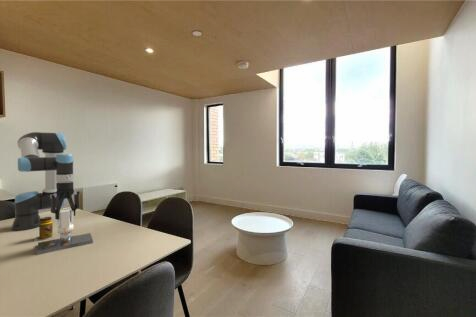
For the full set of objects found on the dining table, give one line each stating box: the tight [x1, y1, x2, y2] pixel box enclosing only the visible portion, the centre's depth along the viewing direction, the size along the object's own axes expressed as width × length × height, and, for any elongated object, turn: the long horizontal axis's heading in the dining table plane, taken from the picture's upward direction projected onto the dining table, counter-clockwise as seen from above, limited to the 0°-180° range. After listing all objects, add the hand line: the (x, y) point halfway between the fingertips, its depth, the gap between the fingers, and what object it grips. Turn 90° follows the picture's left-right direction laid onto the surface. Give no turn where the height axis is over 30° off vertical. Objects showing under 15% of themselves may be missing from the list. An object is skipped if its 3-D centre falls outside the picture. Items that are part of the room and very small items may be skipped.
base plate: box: [35, 231, 94, 255], centre depth 126 cm, size 14×24×7 cm, turn 128°
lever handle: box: [57, 207, 74, 234], centre depth 125 cm, size 10×7×12 cm
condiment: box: [33, 216, 55, 242], centre depth 135 cm, size 7×8×12 cm
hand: (65, 223), depth 126 cm, fingers closed on lever handle, 5 cm apart
